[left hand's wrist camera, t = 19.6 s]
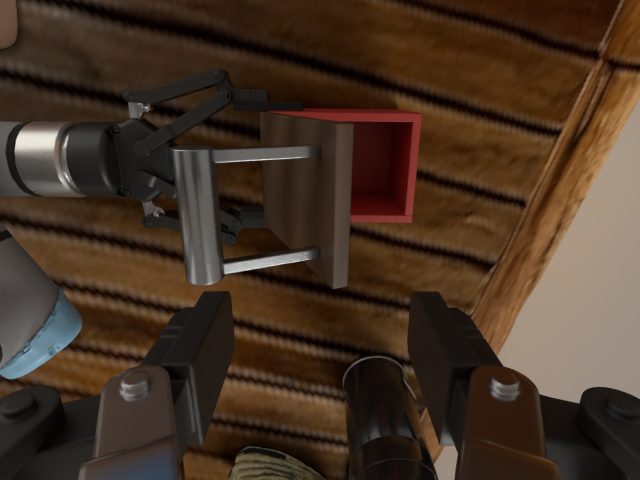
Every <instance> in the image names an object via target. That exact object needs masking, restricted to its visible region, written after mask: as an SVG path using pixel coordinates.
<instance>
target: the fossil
mask: <svg viewBox="0 0 640 480" xmlns="http://www.w3.org/2000/svg"><path fill="white" fill-rule="evenodd" d="M227 480H326V479H325V478H323V477H322V476H321V475H320V474H318V473H317V472H316V471H314V470H313V469H311V468H310V467H307V466H306V465H305V464H303V463H302V462H301V461H299V460H297V459H295V458H293V457H291V456H289V455H287V454H285V453H283V452H280V451H277V450H272V449H267V448H260V447H250V446H249V447H247V448H245V449H243V450H241V451H240V453H239V454H238V455H237V457H236V459H235V464H234V467H233V468H232V470H231V471H230V473H229V475H228V478H227Z"/></svg>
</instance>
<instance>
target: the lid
mask: <svg viewBox="0 0 640 480" xmlns="http://www.w3.org/2000/svg"><path fill="white" fill-rule="evenodd" d="M353 132H354V124H353V123H348V122H341V121H333V120H326V119H318V118H311V117H303V116H296V115H288V114H281V113H273V112H260V135H261V147H238V148H214V147H213V146H208V145H183V146H176V147H173V148H171V154H172V162H173V171H174V179H175V187H176V196H177V204H178V213H179V221H180V229H181V238H182V246H183V255H184V263H185V271H186V280H187V281H188V282H189V283H190V284H193V285H210V284H214V283H217V282H219V281H221V280H222V279H223V278H224V276H225V274H228V273H234V272H240V271H246V270H252V269H258V268H264V267H270V266H276V265H281V264H287V263H293V262H299V261H304V262H305V263H306V264H307V265H308V266H309V267H310V268H311V269H312V270H313V271H314V272H315V273H316V274H317V275H319V276H320V277H321V278H322V279H323V280H324V281H325V282H326V283H327V284H328V285H329V286H330V287H331V288H332V289H336V288H341V287H346V286H348V264H349V237H350V211H351V185H352V158H353ZM260 160H262V184H263V208H264V224H265V225H266V226H267V227H268V228H269V229H270V230H271V231H272V232H273V233H274V234H275V235H277V236H278V237H279V238H280V239H281V240H282V241H283V242H284V243H285V244H286V245H287V246H288V247H289V248H290V249H289V250H283V251H276V252H270V253H263V254H257V255H251V256H244V257H238V258H231V259H225V260H224V259H223V246H222V234H221V222H220V210H219V197H218V185H217V173H216V163H226V162H243V161H260Z"/></svg>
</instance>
